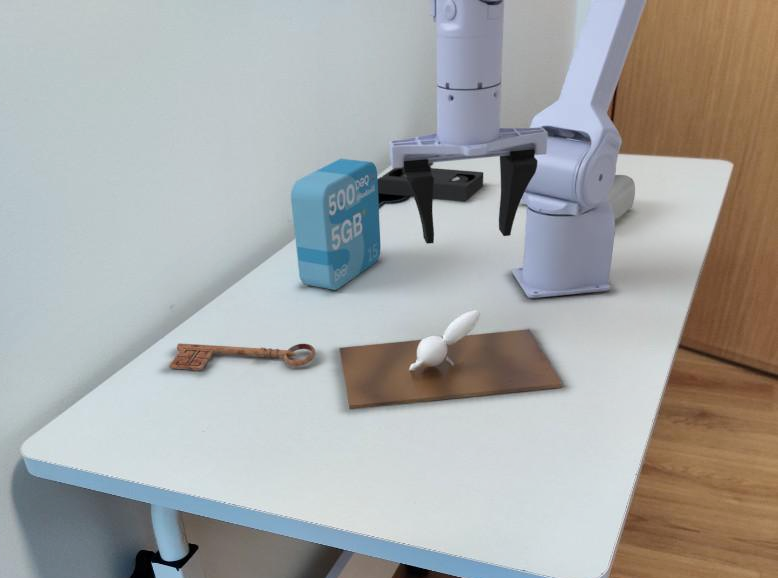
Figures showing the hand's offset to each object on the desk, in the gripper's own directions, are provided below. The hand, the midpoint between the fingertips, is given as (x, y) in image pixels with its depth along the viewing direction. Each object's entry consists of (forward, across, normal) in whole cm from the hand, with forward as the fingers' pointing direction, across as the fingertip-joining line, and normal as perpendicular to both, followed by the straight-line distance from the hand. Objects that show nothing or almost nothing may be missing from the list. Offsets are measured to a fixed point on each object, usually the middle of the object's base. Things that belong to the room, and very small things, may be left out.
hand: (466, 236), depth 83 cm
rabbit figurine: (+10, -4, -8) cm, 13 cm away
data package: (+10, -12, +19) cm, 24 cm away
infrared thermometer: (+10, +20, +32) cm, 39 cm away
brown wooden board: (+10, -4, -8) cm, 13 cm away
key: (+10, -24, -2) cm, 26 cm away
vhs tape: (+10, +5, +49) cm, 50 cm away
